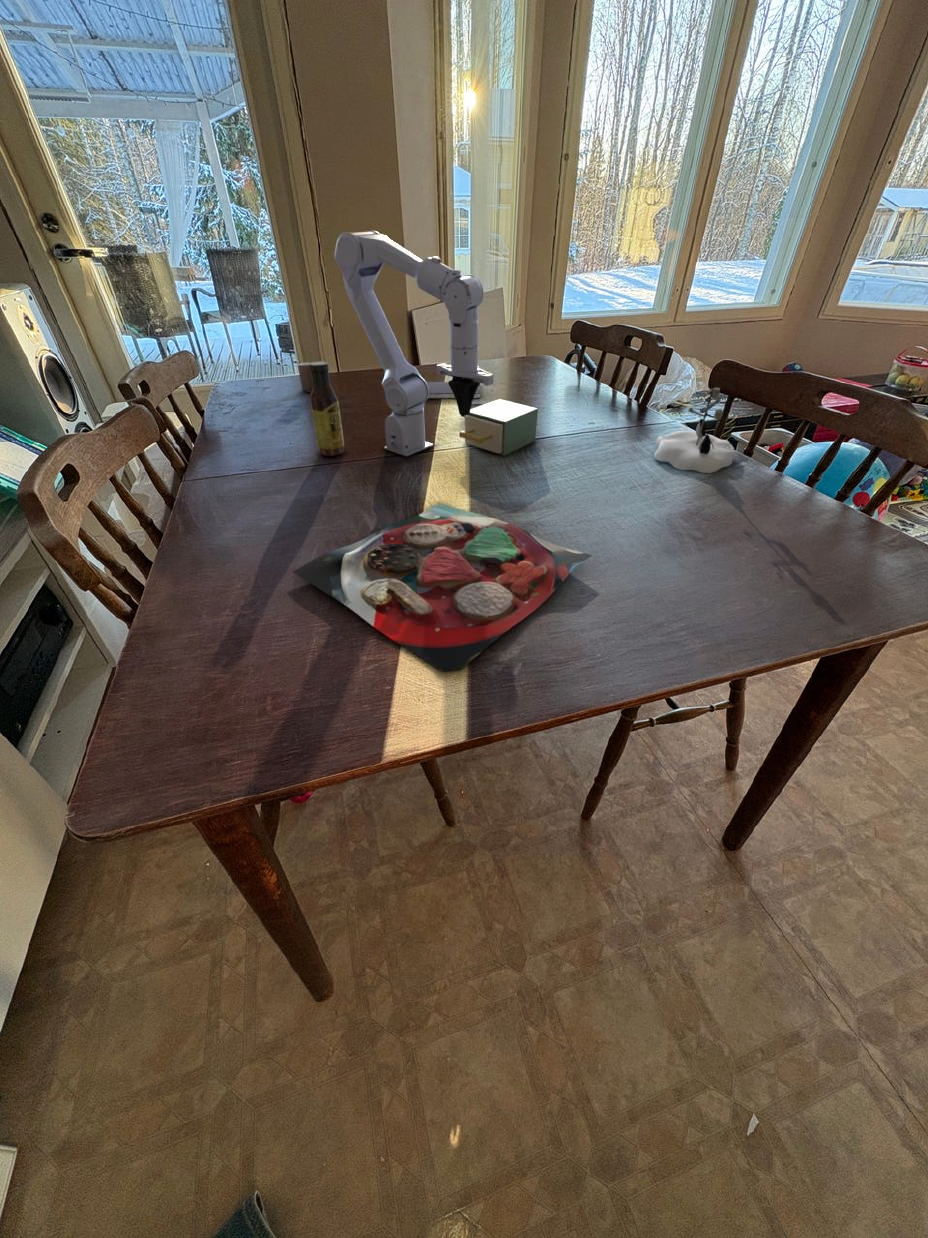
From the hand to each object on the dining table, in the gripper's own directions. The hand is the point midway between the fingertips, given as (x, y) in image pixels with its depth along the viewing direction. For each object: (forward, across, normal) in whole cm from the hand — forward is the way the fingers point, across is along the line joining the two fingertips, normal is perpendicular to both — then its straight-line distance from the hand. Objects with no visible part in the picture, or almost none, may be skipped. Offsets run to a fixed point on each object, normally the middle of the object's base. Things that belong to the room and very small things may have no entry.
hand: (464, 413), depth 114 cm
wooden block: (+10, +75, -10) cm, 76 cm away
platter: (+11, -29, +38) cm, 49 cm away
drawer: (+10, 0, -10) cm, 14 cm away
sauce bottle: (+10, +27, +18) cm, 34 cm away
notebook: (+10, +40, -37) cm, 56 cm away
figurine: (+11, -40, -37) cm, 55 cm away
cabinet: (+10, 0, -14) cm, 17 cm away
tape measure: (+10, +17, -23) cm, 31 cm away
